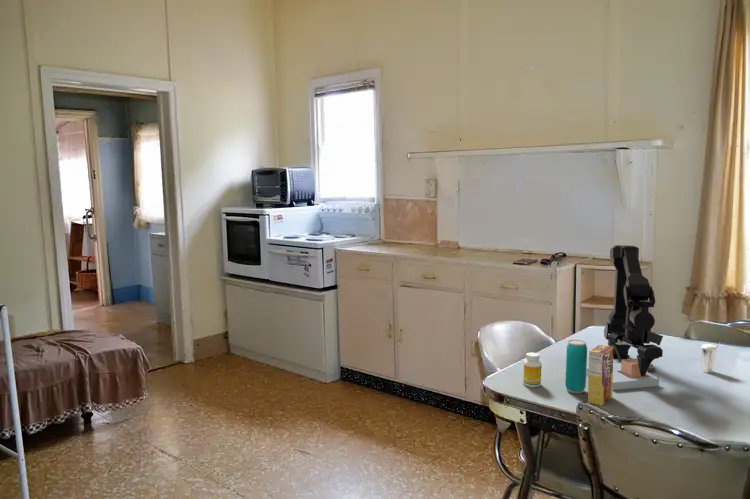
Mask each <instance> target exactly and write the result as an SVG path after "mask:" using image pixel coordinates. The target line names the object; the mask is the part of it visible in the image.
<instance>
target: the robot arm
mask: <svg viewBox="0 0 750 499" xmlns="http://www.w3.org/2000/svg"><path fill="white" fill-rule="evenodd" d="M609 258H610V260H611V265H612V266H613V267H614V269H615V275H614V276H615V278H614V295H613V297H614V298H613V310H612V311H611V313H609V315H608V316H607V317H608V318H607V322H606V323H605V326H604V329H603V337H604V339H605V340H607V345H609V346H613V359H618V360H619V363H621V362H622V359H629V358H630V357H631V356H630V355H629V351H630V349H631V348H633V349H637V350H636V351H637V355H636V359H637V360H638V365H639V370H640V374H641V376H645V374H646V372H647V370H648V368H649V366H651V364H652V362H653V361H654V360H656V359H659V358H662V357H663V355H664V350H663V349H662V348H661V347H660V345H661V343H662V340H663V338H664V336H663V335H661V334H659V333H656V332H654V331H652V328H654V326H655V323H656V320H655V317H654V315H653V314H652V313H651V312H649V308H655V304H656V298H655V292H654V289H653V286H651V284H650V282H649V279H648V278H647V277H645V276H644V275H643V272H642V268H641V265H640V260H639V259H640V247H638V246H636V245H627V244H626V245H623V244H622V245H620V244H619V245H617V244H615V245H614V246H613V247H611V248H610V249H609ZM647 373H648V372H647Z"/></svg>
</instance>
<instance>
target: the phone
mask: <svg viewBox="0 0 750 499" xmlns="http://www.w3.org/2000/svg"><path fill="white" fill-rule="evenodd" d="M655 369H656V368H655V367H654V366H651V365H650V366H649V368H648V372H647V373H651V372H655Z"/></svg>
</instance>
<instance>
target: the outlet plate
mask: <svg viewBox="0 0 750 499" xmlns="http://www.w3.org/2000/svg"><path fill="white" fill-rule="evenodd" d="M586 377H589V364H587V366H586ZM659 386H660V378H659V377H657V376H655V375H653V374H651V373H650V372H646V374H645V377H640V378H629V377H627V376H625V375H623V374H621V362H613V389H612V391H616V390H618V391H619V390H620V391H621V390H629V389H640V388H642V389H643V388H651V387H652V388H653V387H659Z"/></svg>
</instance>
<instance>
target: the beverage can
mask: <svg viewBox="0 0 750 499" xmlns="http://www.w3.org/2000/svg"><path fill="white" fill-rule="evenodd" d="M565 358H566V359H565V361H566V362H565V382H564V383H565V388H566V390H567V392H568V393H571V394H578V395H579V394H582V393H584V390H585V389H586V387H587V386H586V385H587V375H586V366H587V365H588V364H587V363H588V359H587V358H588V346H587V342H586V341H584V340H582V339H581V340H580V339H569V340H568V341H567V345H566V357H565Z"/></svg>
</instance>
